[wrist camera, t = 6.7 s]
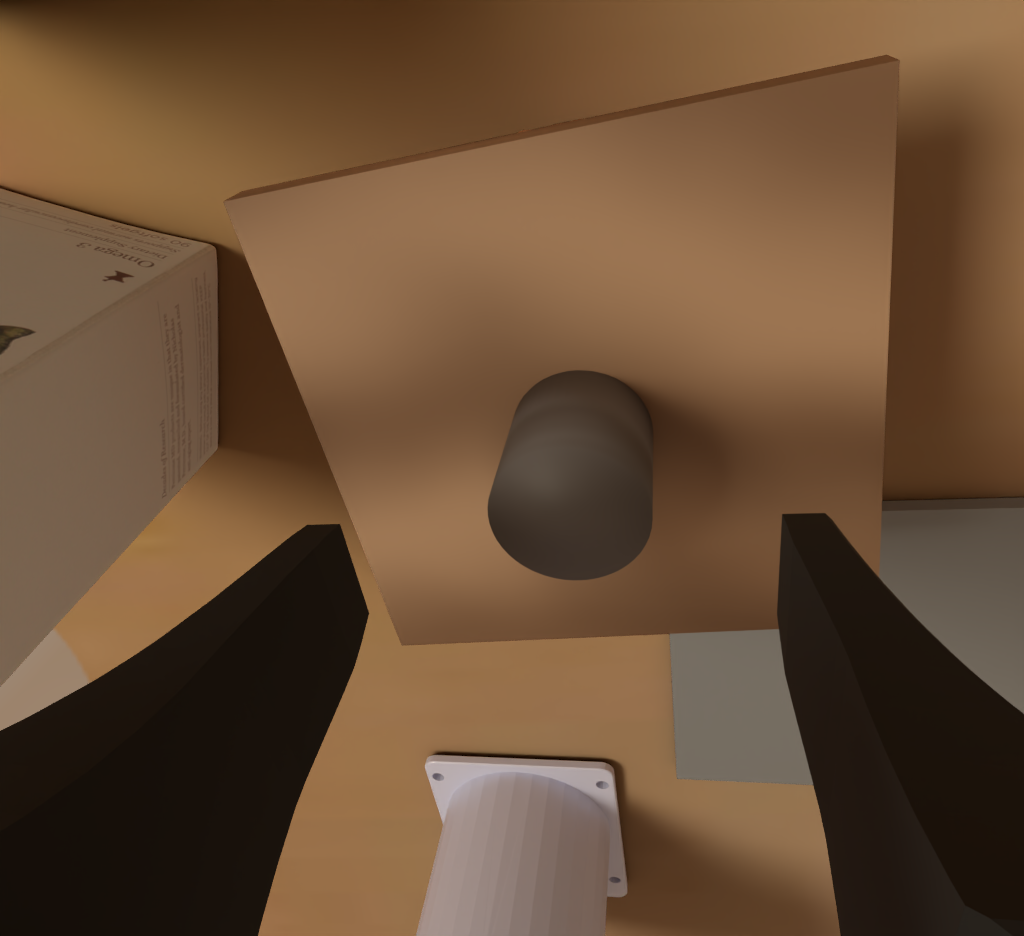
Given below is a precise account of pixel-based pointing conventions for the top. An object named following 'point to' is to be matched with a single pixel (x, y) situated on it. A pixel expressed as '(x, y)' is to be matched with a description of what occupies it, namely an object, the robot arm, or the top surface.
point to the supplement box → (93, 399)
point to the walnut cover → (599, 355)
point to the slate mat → (924, 592)
